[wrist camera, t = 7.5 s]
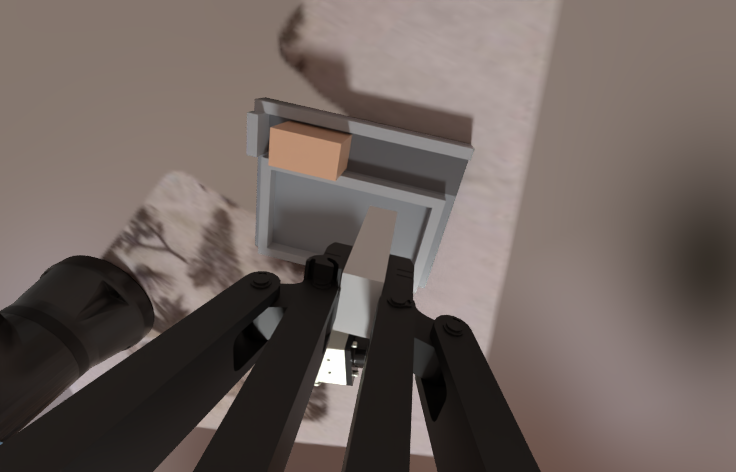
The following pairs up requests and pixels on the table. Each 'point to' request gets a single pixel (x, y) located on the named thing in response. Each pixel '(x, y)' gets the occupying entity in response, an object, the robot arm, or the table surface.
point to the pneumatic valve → (342, 358)
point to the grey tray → (355, 188)
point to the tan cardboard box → (309, 149)
